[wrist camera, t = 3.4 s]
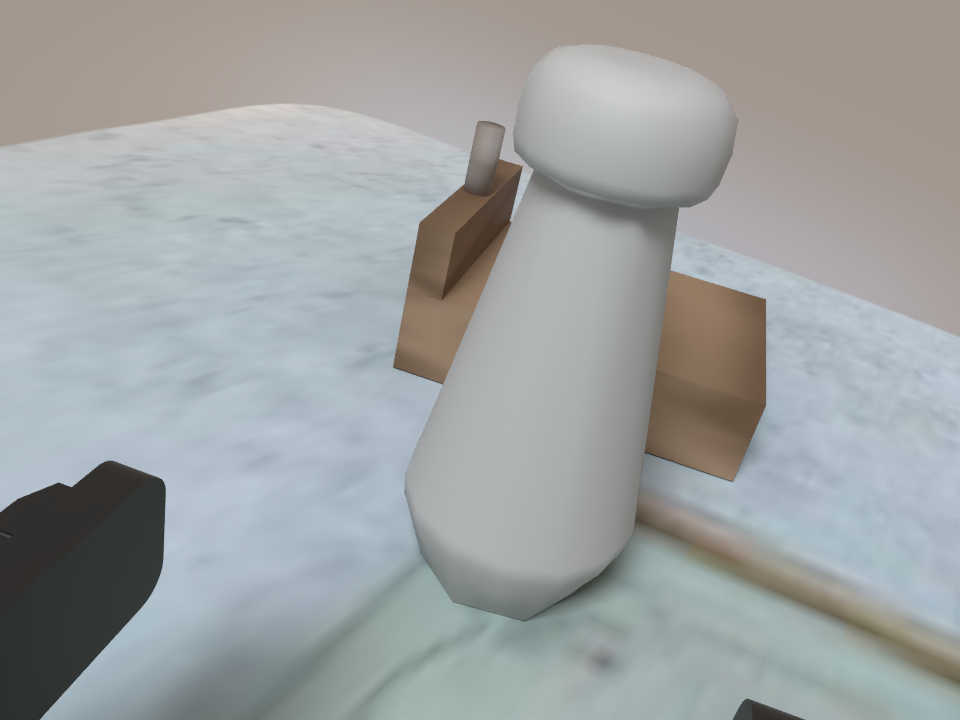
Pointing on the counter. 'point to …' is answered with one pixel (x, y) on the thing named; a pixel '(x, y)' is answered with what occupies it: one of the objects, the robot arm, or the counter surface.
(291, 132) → the counter surface
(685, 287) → the wooden stand
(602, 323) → the salt shaker
